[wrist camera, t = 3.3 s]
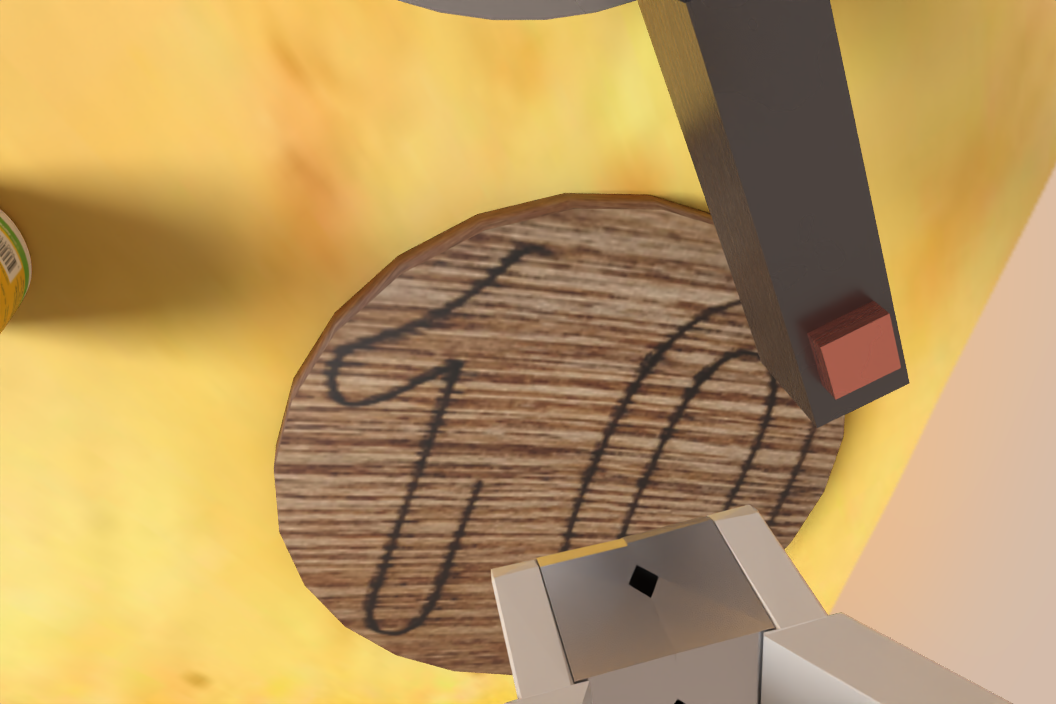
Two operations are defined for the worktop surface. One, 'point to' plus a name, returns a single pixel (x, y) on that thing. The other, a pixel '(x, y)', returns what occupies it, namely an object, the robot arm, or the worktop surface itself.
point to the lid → (773, 182)
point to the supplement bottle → (12, 269)
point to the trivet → (529, 416)
